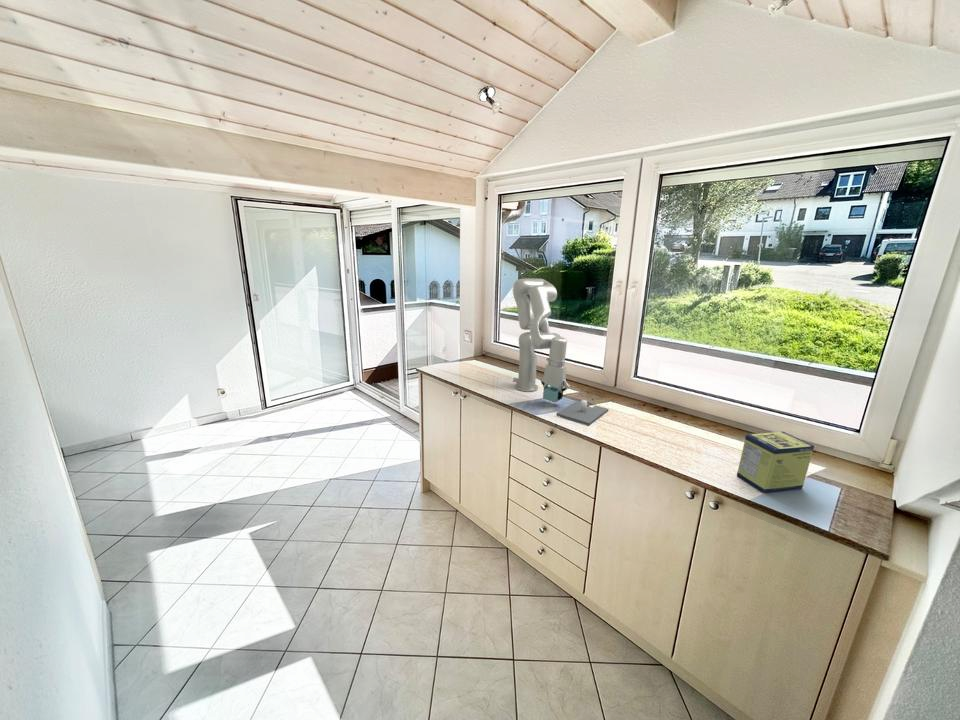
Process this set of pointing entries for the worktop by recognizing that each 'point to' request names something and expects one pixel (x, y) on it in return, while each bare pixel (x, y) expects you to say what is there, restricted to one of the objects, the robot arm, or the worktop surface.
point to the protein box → (774, 461)
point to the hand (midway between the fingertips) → (552, 396)
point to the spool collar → (551, 393)
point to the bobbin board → (582, 412)
